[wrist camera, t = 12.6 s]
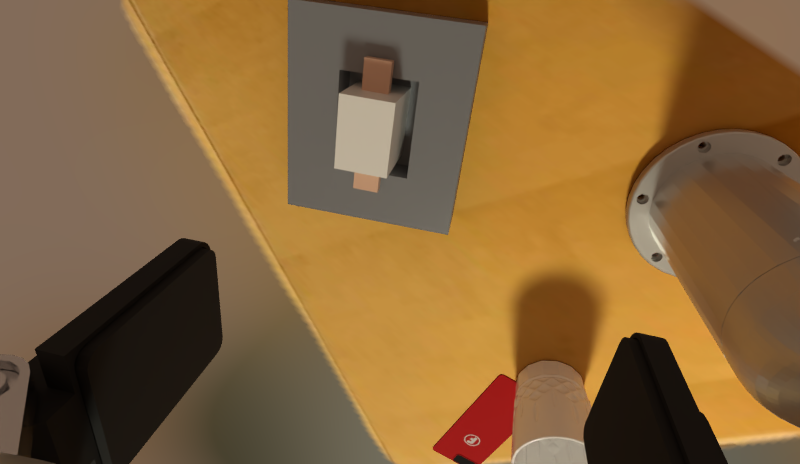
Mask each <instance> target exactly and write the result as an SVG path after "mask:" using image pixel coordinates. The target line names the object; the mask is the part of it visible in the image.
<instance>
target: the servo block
mask: <svg viewBox="0 0 800 464" xmlns="http://www.w3.org/2000/svg"><path fill="white" fill-rule="evenodd" d="M393 68H394V60H389V59H383V58H377V57H371V56H366V57H364V67H363V79H361V80H360V81H358V82H356V83H355V84H353V85H352V86H350V87H348V88H347V89H345V90H343V91H342V92H340V93H339V100H338V116H337V131H336V147H335V163H334V168H335V169H340V170H345V171H350V172H354V183H353V188H356V189H361V190H366V191H371V192H376V193H377V192H378V191H379V189H380V181H381V178H386V179H387V177H388V175H389V174H390V172H391V171H392V169H393V168H394V166H395V164H396V163H397V161H398V160H399V158H400V156H401V155H402V151H403V144H404V137H405V129H406V122H407V114H408V107H409V100H410V92H411V87H406V86H400V85H394V84H392V77H393Z"/></svg>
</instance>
